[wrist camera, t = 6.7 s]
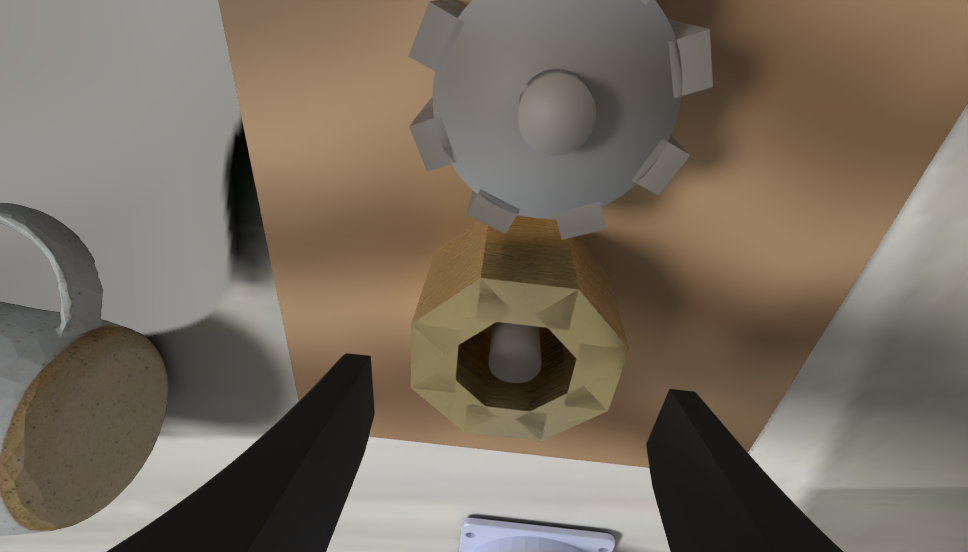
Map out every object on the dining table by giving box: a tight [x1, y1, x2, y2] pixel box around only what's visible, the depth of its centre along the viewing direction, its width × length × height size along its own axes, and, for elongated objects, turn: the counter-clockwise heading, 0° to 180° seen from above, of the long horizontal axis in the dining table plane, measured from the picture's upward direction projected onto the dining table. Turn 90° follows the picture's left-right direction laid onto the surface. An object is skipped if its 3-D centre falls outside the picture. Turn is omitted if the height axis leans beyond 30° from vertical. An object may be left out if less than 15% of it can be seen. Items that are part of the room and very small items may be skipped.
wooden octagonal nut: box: [411, 216, 630, 441], centre depth 13 cm, size 5×5×4 cm
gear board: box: [218, 0, 968, 468], centre depth 13 cm, size 18×18×5 cm
